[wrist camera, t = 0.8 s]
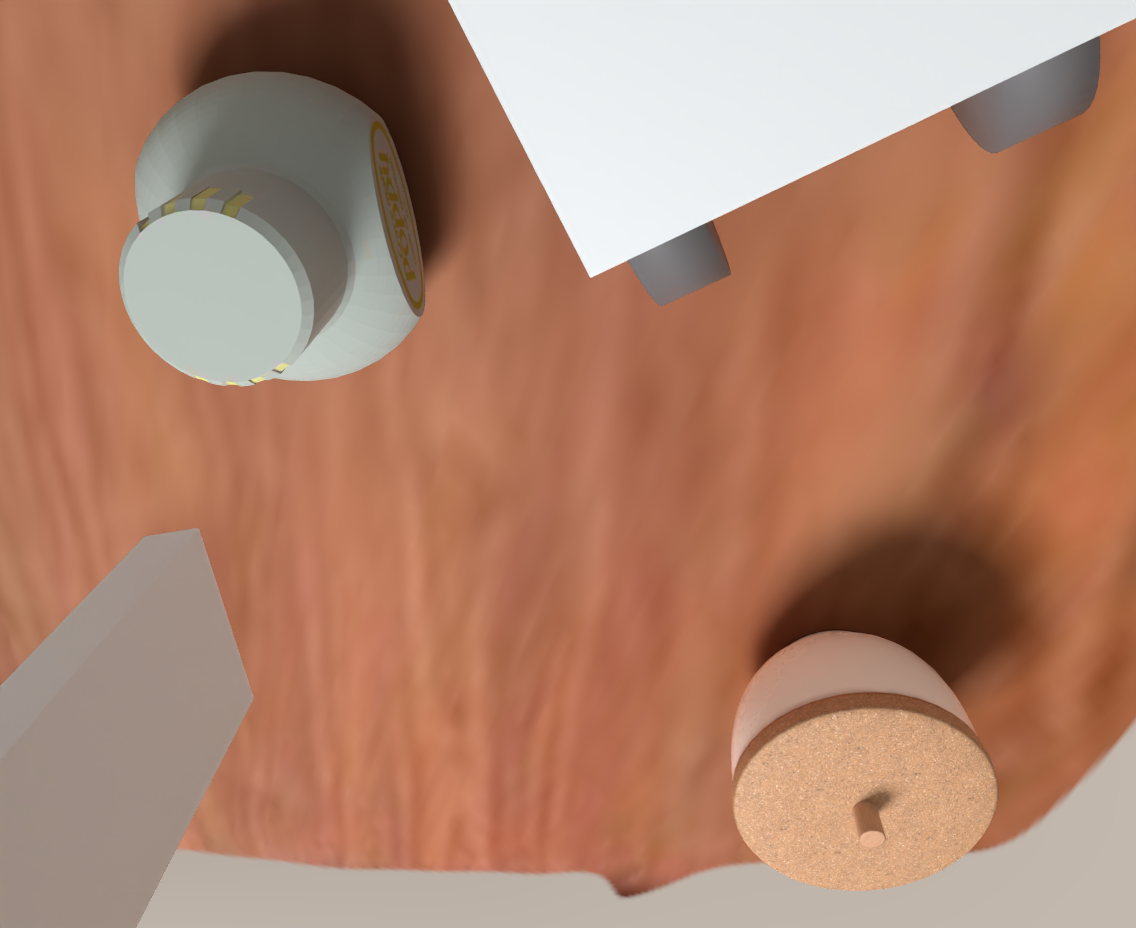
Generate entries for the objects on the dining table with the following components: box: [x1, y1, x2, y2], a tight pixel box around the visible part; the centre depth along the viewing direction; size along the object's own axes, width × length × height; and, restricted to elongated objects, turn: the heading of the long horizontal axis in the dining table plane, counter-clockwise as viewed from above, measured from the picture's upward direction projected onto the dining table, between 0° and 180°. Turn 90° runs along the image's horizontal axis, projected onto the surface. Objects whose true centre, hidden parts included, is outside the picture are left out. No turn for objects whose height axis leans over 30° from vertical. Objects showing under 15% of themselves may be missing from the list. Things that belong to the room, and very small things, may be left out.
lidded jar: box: [731, 630, 998, 891], centre depth 42 cm, size 11×11×9 cm
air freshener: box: [119, 72, 425, 386], centre depth 33 cm, size 11×8×10 cm
